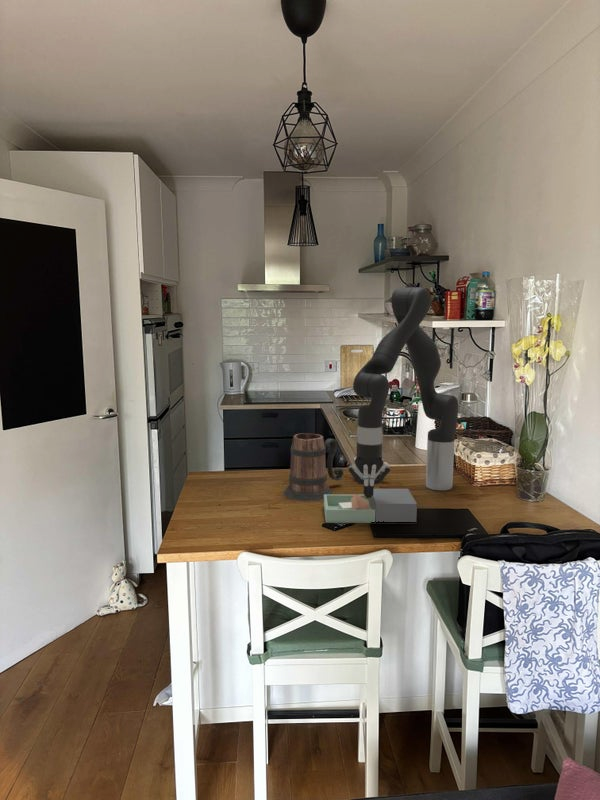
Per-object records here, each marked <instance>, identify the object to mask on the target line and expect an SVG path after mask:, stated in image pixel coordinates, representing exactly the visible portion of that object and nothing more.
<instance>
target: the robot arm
mask: <svg viewBox="0 0 600 800" xmlns="http://www.w3.org/2000/svg"><path fill="white" fill-rule="evenodd" d="M390 302H391V303H390V304H391V305H390V306H391V310H392V312H393V315H394V317H395V320H396V322H397V325H396V326H395V327H394V328H393V329H391V330H390V331H389V332H388V333H387V334H385V336H384V337H383V338H382V339H381V340H380V341H379V343H378V344H377V346H376V348H375V350H374V351H373V355H372V357H371V358H370V359H369V360H368V361H367V362H366V363H365V364H364V365H363V367H362V368H361V369H360V370H359V371H358V372H357V373H356V375H355V377H354V379H353V384H352V389H353V392H354V394H355V395H357V396H359V397H362V398H368V399H369V398H370V402H369V404H365V405H361V406H360V407H359V408H358V411H357V412H358V413H357V430H356V431H357V432H356V456H355V457H356V460H355V463H354V462H353V464H351V465H348V466H347V470H348V472H349V473H350V474H351V476H352V477H353V478H354V479H355V481H356V482H357V483H358V484H359V485H362V486H363V491H362V492H363V495H364V496H366V498H371V496H373V490H374V489H375V488H374V487H375V485H380V484H381V482H382V481H383V480H384V479H385V477H386V476H387V475H388V474H389V473H390V471H391V468H389V467H390V465H389V466H386V465H385V464H384V462H385V461H384V459H383V441H384V438H383V436H384V435H383V434H384V433H383V413H384V412H383V411H384V409H385V405H386V402H387V398H388V395H389V391H390V382H389V380H388V378H387V376H385V375H386V374H389V373H391V372H392V371H393V369H394V367H395V365H396V362H397V361H398V359H399V358H400V354H401V353H402V350H403V349H404V347H405V346H406V348H407V350H408V355H409V359H410V362H411V365H412V368H413V371H414V375H415V377H416V381H417V383H418V387H419V388H418V389H419V392H420V400H421V405H422V410H423V413H424V414H425V416H426V417H427V418H428V419H430V420H432V421H433V420H435V421H441V425H440V427H438V428H433V429H430V430H429V431H428V432H427V442H426V464H425V465H426V467H425V470H426V471H425V488H427V489H429V490H434V491H449V490H452V489H453V480H454V479H453V477H454V458H455V455H454V454H455V438H456V434H457V426H458V425H457V424H458V416H459V400H458V398H457V397H456V396H455V395H450V394H444V393H443V394H442V393H437V391H436V388H435V380H436V378H437V377H438V375H439V372H440V369H441V366H442V361H441V357H440V354H439V349H438V346H437V345H436V343H435V341H434V340H433V339H432V338H431V336H430V335H429V334H428V333H427V332H425V330H423V328H422V327H421V326H420V324H421V323H422V322H423V321H424V319H425V318H426V316H427V314H428V313H429V311H430V308H431V304H432V296H431V293H430V291H429V290H428V289H427V288H424V287H417V286H413V287H409V286H408V287H407V286H406V287H398V288H396V289H395V290H393V292H392V294H391V298H390ZM384 374H385V375H384ZM382 459H383V460H382ZM356 467H357V468H358V469H359V470H360V472H361V473H362V474H363V479H361V478H360V477H359V475H358V474H357V473H356V471H357V470H356ZM381 467H382V468H381ZM380 468H381V472H380V474H379V475H378V476H377V477H376V478H375V474H376V473H377V472H378V471H379V470H380ZM368 474H369V481H368Z"/></svg>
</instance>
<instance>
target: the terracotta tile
mask: <svg viewBox="0 0 600 800" xmlns="http://www.w3.org/2000/svg"><path fill="white" fill-rule="evenodd" d="M354 495H355V496H353V497H352V498H351V503H352V509H370V506H369V501H368V500H367V499H365V498H363V497H361V496H359V495H360V494H357V493H356V494H354Z"/></svg>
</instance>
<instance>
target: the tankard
mask: <svg viewBox="0 0 600 800" xmlns="http://www.w3.org/2000/svg"><path fill="white" fill-rule="evenodd" d="M292 437H293V438H292V443H291V446H290V469H289V472H290V473H289V476H288V477H289V478H288V480H289V484H288V486H287V487H286V488H285V490H284V491H283V492H282V493H283V495H284V496H285V497H286V498H288V499H290V500H294V501H301V502H318V501H322V500H323V501H324V494H327V495H333V492H332V490H331V489H330V487H329V486H328V484H327V480H328V477H329V478H330V479H332V480H333V481H340V480H341V479H342V478H343V475H344V470H343V468H340V467H333V461H334V459H335V458H334V457H335V455H336V453H337V450H338V441H337V440H336V439H334V438H327V439H325V441H324V436H323V435H321V434H319V433H318V434H317V433H307V432H306V433H305V432H300V433H297V434H294V435H293V436H292ZM326 453H328V456H327V460H326ZM326 468H327V470H326ZM333 468H334V469H333ZM327 473H328V475H327ZM335 475H336V476H335ZM327 476H328V477H327Z"/></svg>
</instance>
